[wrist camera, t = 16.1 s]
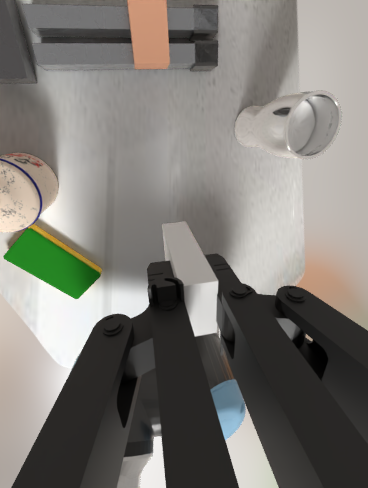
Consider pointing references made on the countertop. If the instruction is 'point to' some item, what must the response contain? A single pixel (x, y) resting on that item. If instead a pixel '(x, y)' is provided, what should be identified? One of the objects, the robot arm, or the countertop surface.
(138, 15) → the peach rectangular block
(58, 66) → the tong arm
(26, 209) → the teacup with lid
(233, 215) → the countertop surface
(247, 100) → the countertop surface
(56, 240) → the dish sponge
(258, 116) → the beer glass
